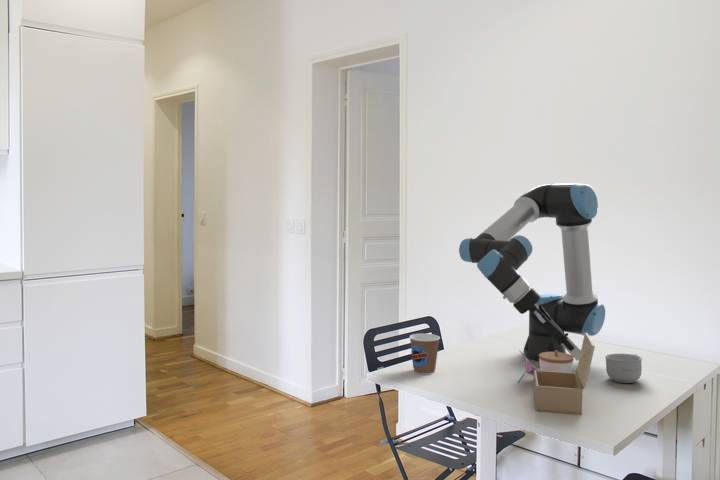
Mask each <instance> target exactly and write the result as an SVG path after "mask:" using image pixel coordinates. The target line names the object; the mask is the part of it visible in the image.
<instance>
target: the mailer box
mask: <svg viewBox="0 0 720 480" xmlns="http://www.w3.org/2000/svg"><path fill="white" fill-rule="evenodd" d="M583 390H584V389H582V388H581V386H580V383H579V381H578V378H577V375H576V373H575V372H571V373H568V372H553V371H541V370H539V371H537V370H534V375H533V396H534V397H533V398H534V404H535V411H536V412H545V413H556V414H557V413H558V414H567V415H569V414H571V415H583V392H584V391H583Z"/></svg>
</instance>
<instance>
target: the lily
mask: <svg viewBox="0 0 720 480" xmlns="http://www.w3.org/2000/svg"><path fill="white" fill-rule="evenodd" d="M518 351H519V352H520V353H521V355H522V357H523V358H524V361H523V362H522V363H523V365H525V366H524V367H525V368H524V372H523V374H522V375H521V377H520V379H519V380H518V382H517V384H520V382H521V381H522V379H523V377H524V376H525V375H526V374H528V375H532V376H534V370H537V371H540V369H538V368H537V366H536V365H534V364H533V365H532V363H531V361H530V360H529V358H527V357H526V356H525V355H524V352H522V351H521V350H520V349H518Z"/></svg>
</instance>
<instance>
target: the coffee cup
mask: <svg viewBox="0 0 720 480" xmlns="http://www.w3.org/2000/svg"><path fill="white" fill-rule="evenodd" d="M408 338H409V340H410V347H411V348H410V349H411V352H410V353H411V359H412V360H411V361H412V368H413V371H414V373H415V374H418V375H432V374H434V373H435V371H436V366H437V360H438V359H437V358H438V350H439V345H440V344H439V343H440V342H439V341H440V339H441V337H440V336H439V335H437V334H432V333H413V334H410V335H409V337H408Z"/></svg>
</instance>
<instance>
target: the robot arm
mask: <svg viewBox="0 0 720 480" xmlns="http://www.w3.org/2000/svg"><path fill="white" fill-rule="evenodd" d="M598 208H599V200H598V196H597V194H596V191H595V189H594V188H593V187H592V186H591V185H590V184H585V183H578V182H576V183H575V182H574V183H554V184H553V183H547V184H541V185H538V186H537V187H534V188H531V189H530V190H529V191H526V192H525V193H523V194H522V195H521V196H519V197H518V198H517V199H516V200H515V201H514V203H513V206H512V207H511V208H510V209H508V210H507V211H506V212H505V213H504V214H503V215H501V216H500V217H499V218H497V219H496V220H495V221H494V222H493V223H491V224H490V225H489V226H488V227H487V228H485V230H483V232H481V233H480V234H478V236H476V237H474V238H472V237H470V238H464V239H463V240H461V242H460V244H459V246H458V247H459V248H458V254H459V256H460V258H461V260H462V261H464V262H467V263H471V264H476V267H477V269H478V270H479V271H480V272H481V274H482V275H483V276H484V278H486V279H487V280H488V281H489V282H490V283H491V284H492V285H493V287H495V288H496V289H497V290H498V291H499V293H501V295H503V296H502V298H503V300H507V301H508V302H509V303H510V304H513V308H515V309H516V311H517V312H518V313H519V314H521V315H523V314H526V313H527V312H528V315H529V316H528V336H527V339H526V342H525V345H524V347H523V354H524V355H525V356H526V358H527V359H530V360H535V361H539V354H540V353H543V352H555V350H557V351H558V352H562V353H566V354H567V352H568V354H570V355H572V356H573V358H574V360H576V361H578V362H579V359H580V358H581V357H583V356H584V353H583V352H582V351H581V348H579V346H577V344H575V342H574V341H572V340H571V338H570V337H569V334H575V335H581V336H584V335H585V333H588V335H589V337H594V336H596V335H598V334H599V332H600V331H601V330H602V328H603V326H604V323H605V319H606V307H605V305H604V304H603V303H601V302H599V301H598V296H597V294H595V293H594V291H593V284H592V283H593V282H592V280H593V279H592V270H591V258H590V257H591V255H590V240H589V231H588V230H589V228H588V227H589V226H591V224H592V222H593V219H594V218H595V217H596V216H597V214H598ZM541 218H543V219H544V218H549V219H550V218H554V219H555V224H556V226H557V227H558V228H560V229H561V230H560V231H561V240H562V253H563V254H562V255H563V266H564V278H565V288H566V289H565V292H566V293H565V294H564V295H562V293H561V294H560V293H545V294H543V293H542V294H539V293H538V292H537V291H536V289H534V288H531V284H529V282H528V281H527V280H526V279H525V278H523V276H521V275H520V273H519V272H518V269H519V268H521V266H522V265H523V264H525V262H526V261H527V260H528V259H529V257H530V256H531V255H532V253H533V251H534V250H533V245H532V242H531V241H530V240H529V239H528V238H527V237H525V236H524V235H520V234H519V235H516V234H517V233H519V232H520V231H521V230H522V229H523V228H524V227H525V226H527V225H528V224H529V223H533V222H535V221H537V220H538V219H541Z"/></svg>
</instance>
